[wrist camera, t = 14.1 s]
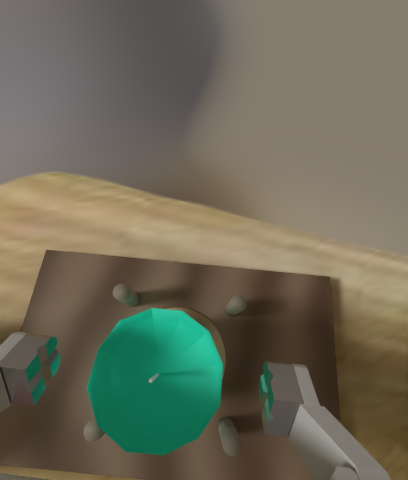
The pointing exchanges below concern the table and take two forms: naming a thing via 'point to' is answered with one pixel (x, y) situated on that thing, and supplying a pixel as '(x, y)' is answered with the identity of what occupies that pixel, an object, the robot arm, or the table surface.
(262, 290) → the candle stand
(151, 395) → the candle
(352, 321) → the table surface
